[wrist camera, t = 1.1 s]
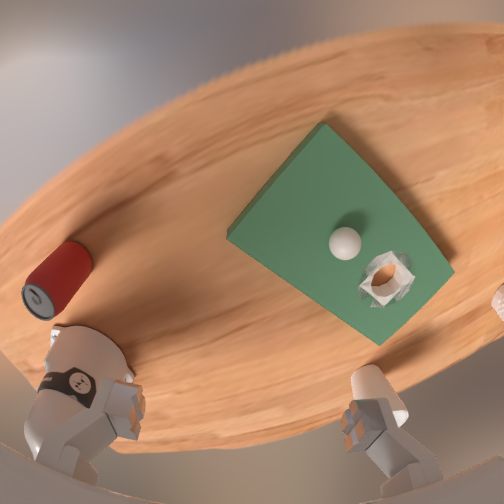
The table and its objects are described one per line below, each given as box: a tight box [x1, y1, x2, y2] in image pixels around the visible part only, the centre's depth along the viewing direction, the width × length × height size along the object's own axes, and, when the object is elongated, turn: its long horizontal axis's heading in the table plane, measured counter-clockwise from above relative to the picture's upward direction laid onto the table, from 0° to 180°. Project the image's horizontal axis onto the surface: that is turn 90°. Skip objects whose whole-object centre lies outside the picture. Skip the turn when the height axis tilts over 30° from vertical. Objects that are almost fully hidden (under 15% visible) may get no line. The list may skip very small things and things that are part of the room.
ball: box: [329, 227, 361, 260], centre depth 35 cm, size 4×4×4 cm
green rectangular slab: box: [227, 123, 455, 346], centre depth 39 cm, size 18×32×3 cm, turn 51°
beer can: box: [21, 241, 92, 321], centre depth 34 cm, size 7×7×12 cm
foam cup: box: [351, 365, 408, 428], centre depth 48 cm, size 10×9×13 cm
